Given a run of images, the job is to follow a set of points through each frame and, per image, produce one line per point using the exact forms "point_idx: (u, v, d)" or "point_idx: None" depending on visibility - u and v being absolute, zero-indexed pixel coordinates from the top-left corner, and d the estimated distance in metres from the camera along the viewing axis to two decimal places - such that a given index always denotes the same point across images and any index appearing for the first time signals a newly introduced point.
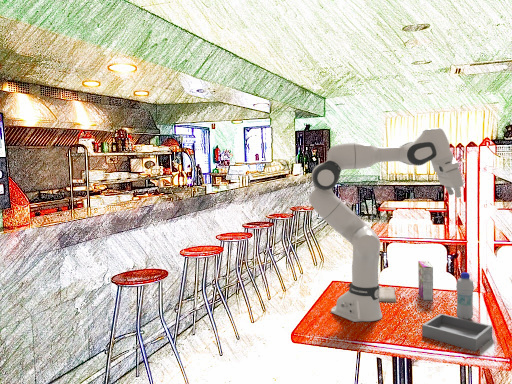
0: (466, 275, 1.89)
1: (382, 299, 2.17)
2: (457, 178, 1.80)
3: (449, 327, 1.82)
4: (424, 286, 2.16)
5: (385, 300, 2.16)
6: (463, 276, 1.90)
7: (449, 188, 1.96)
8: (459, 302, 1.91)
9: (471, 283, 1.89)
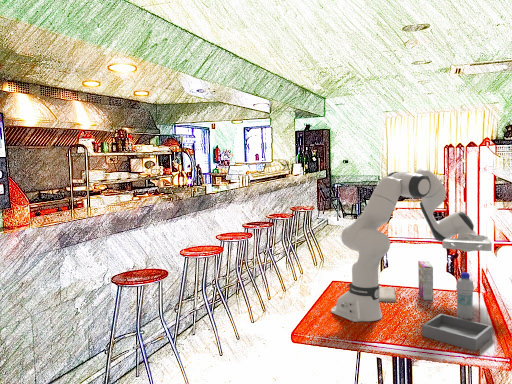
0: (466, 275, 1.89)
1: (382, 299, 2.17)
2: None
3: (449, 327, 1.82)
4: (424, 286, 2.16)
5: (385, 300, 2.16)
6: (463, 276, 1.90)
7: None
8: (459, 302, 1.91)
9: (471, 283, 1.89)
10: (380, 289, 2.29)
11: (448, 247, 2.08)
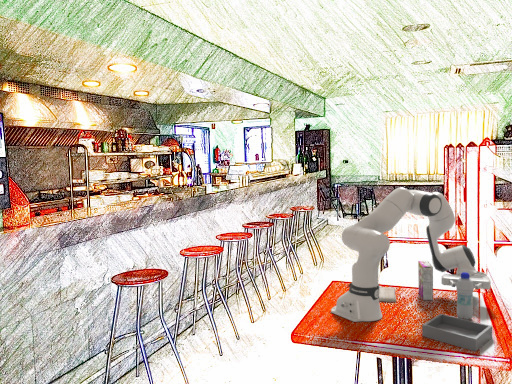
0: (466, 275, 1.89)
1: (382, 299, 2.17)
2: None
3: (449, 327, 1.82)
4: (424, 286, 2.16)
5: (385, 300, 2.16)
6: (463, 276, 1.90)
7: None
8: (459, 302, 1.91)
9: (471, 283, 1.89)
10: (380, 289, 2.29)
11: (447, 284, 2.09)
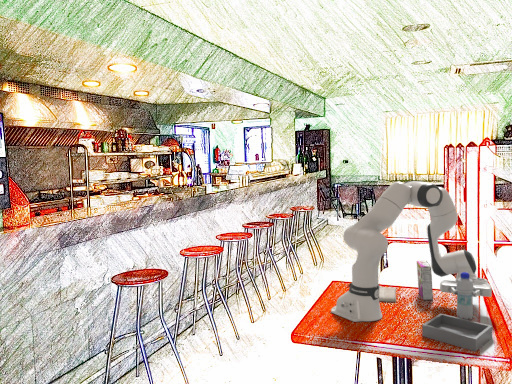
0: (466, 275, 1.89)
1: (382, 299, 2.17)
2: None
3: (449, 327, 1.82)
4: (423, 286, 2.16)
5: (385, 300, 2.17)
6: (463, 276, 1.90)
7: None
8: (459, 302, 1.91)
9: (471, 283, 1.89)
10: (381, 289, 2.29)
11: (446, 291, 1.98)
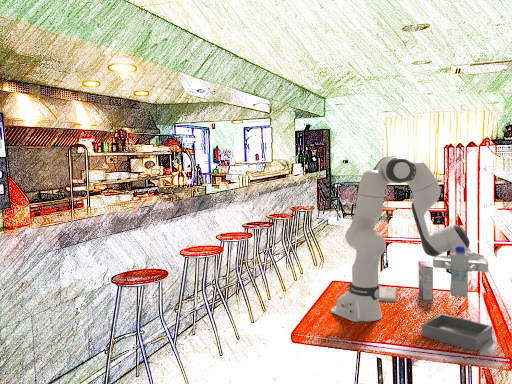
0: (461, 249, 1.76)
1: (382, 299, 2.17)
2: None
3: (449, 327, 1.82)
4: (424, 286, 2.16)
5: (385, 300, 2.17)
6: (458, 250, 1.76)
7: None
8: (453, 278, 1.77)
9: (466, 257, 1.75)
10: (382, 289, 2.29)
11: (439, 266, 1.85)
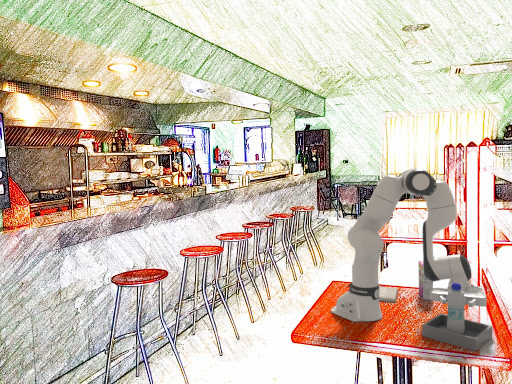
0: (457, 286, 1.72)
1: (382, 299, 2.17)
2: None
3: None
4: (424, 286, 2.16)
5: (385, 300, 2.17)
6: (454, 287, 1.72)
7: None
8: (449, 316, 1.74)
9: (463, 295, 1.71)
10: (383, 289, 2.29)
11: (437, 300, 1.81)
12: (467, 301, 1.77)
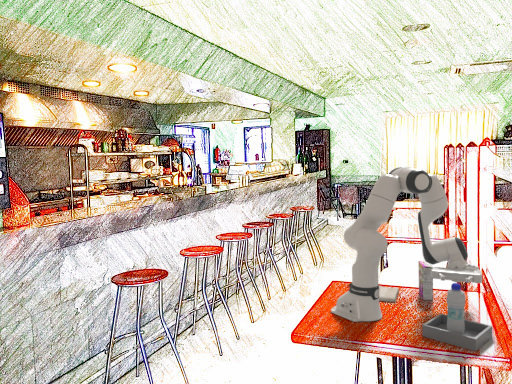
0: (457, 286, 1.72)
1: (382, 299, 2.17)
2: None
3: None
4: (424, 286, 2.16)
5: (384, 300, 2.17)
6: (454, 287, 1.73)
7: None
8: (449, 316, 1.74)
9: (462, 295, 1.71)
10: (384, 289, 2.29)
11: (436, 277, 1.96)
12: (464, 278, 1.92)
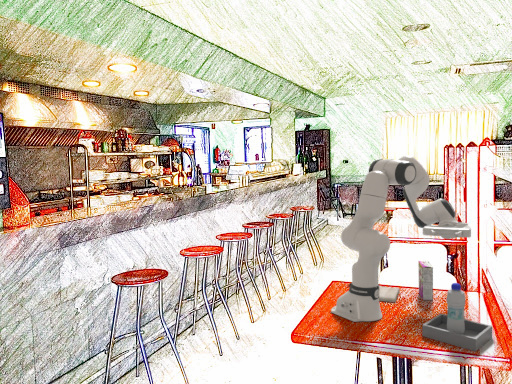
0: (457, 286, 1.72)
1: (381, 299, 2.17)
2: None
3: None
4: (424, 286, 2.16)
5: (384, 300, 2.17)
6: (454, 287, 1.73)
7: None
8: (449, 316, 1.74)
9: (462, 295, 1.71)
10: (384, 289, 2.29)
11: (428, 234, 2.08)
12: (454, 234, 2.04)
